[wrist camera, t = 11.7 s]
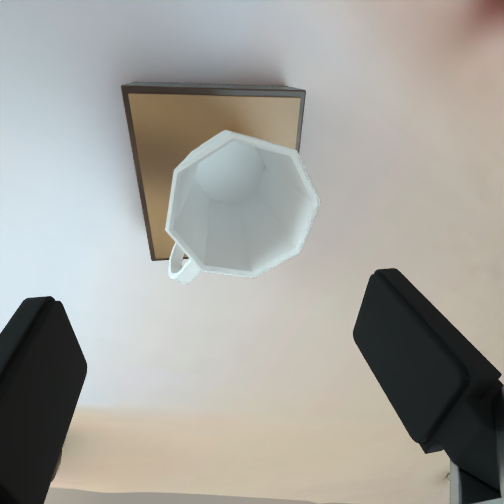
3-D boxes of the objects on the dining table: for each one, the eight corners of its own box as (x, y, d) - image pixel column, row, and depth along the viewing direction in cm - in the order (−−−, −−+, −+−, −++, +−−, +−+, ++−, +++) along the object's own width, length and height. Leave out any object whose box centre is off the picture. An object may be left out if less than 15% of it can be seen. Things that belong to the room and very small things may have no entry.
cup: (300, 153, 20) (352, 197, 13) (216, 257, 24) (224, 335, 17) (214, 80, 17) (226, 89, 10) (132, 212, 20) (100, 283, 14)
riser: (134, 81, 21) (119, 85, 17) (288, 86, 22) (308, 90, 18) (157, 234, 27) (150, 263, 23) (275, 228, 28) (288, 255, 24)
